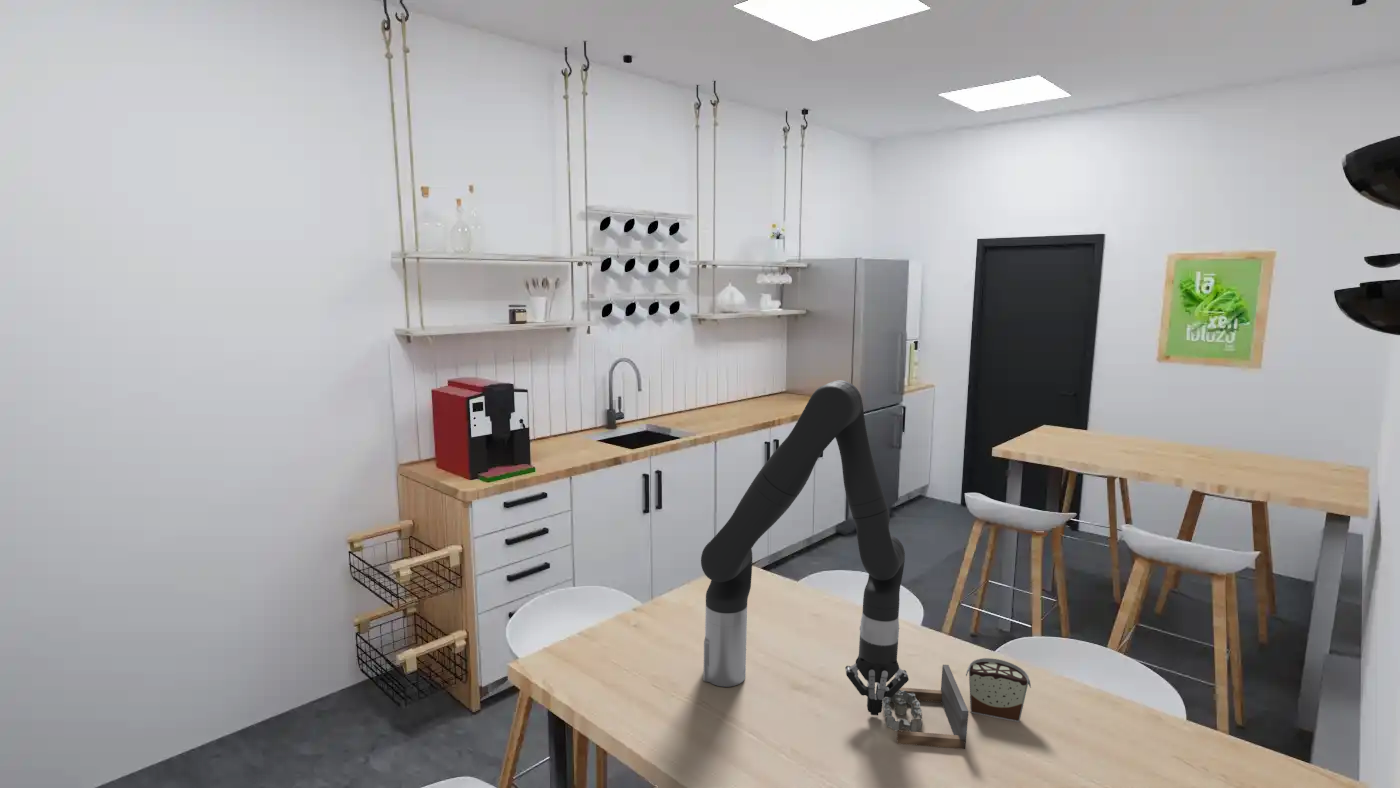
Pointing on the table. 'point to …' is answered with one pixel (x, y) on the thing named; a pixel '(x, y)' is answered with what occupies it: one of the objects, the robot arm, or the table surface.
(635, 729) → the table surface
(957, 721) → the display stand
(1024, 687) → the food container
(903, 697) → the egg carton
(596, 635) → the table surface
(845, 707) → the table surface
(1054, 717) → the table surface
